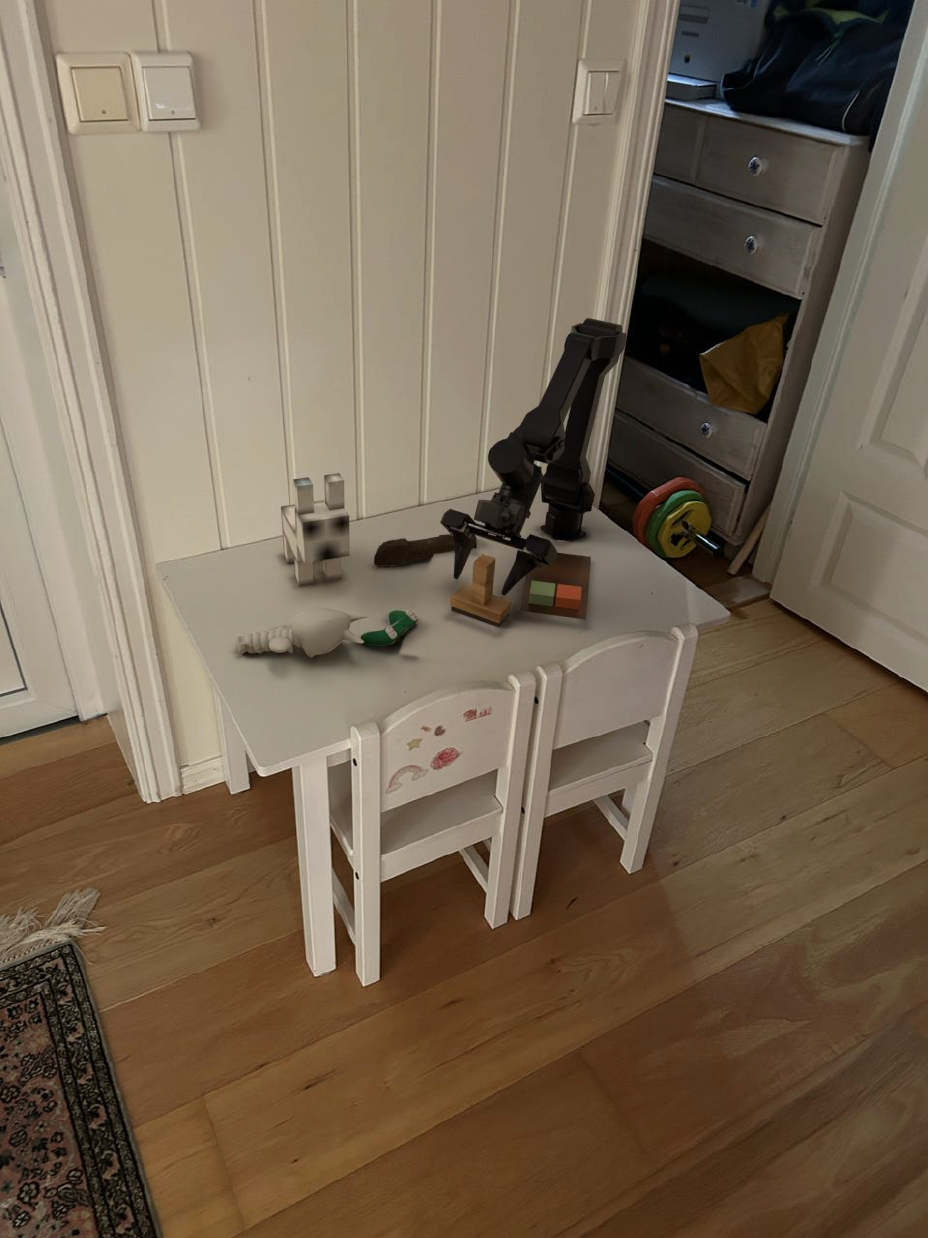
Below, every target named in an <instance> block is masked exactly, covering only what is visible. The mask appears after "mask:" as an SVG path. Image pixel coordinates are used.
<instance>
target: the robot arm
mask: <svg viewBox="0 0 928 1238" xmlns="http://www.w3.org/2000/svg"><path fill="white" fill-rule="evenodd" d="M570 327H571V328H570V332H569V333H567V336H566V338H565V340H564V345H563V346H564V347H563V352H562V354H561V357H560V359H559V361H558V363H557V365H556V367H555V370H554V372H553V374H552V376H551V378H550V381H549V382H548V385H547V386H546V389H545V391H544V393H543V395H542V397H541V400H540V402H539V403H538V405H537V406H535V407H534V408H533V409H531V410H529V411H528V412H527V413H525V415H524V417H523V419H522V421H521V422H520V424H519V426H517V427H516V428H515V429H514V430H513V431H510V432H509V434H508V437H506V438H503V439H500V440H498V441H496V442H495V443H494V444H493V445H492V446H491V447H490V448H489V450H488V454H487V461H488V465H489V467H490V468H491V470H492V471H493V472H494V474H495V475H496V477H497V478H498V480H499V481H500V482H501V484H500V486H499V489H498V492H494V494H493V495H492V497H491V499H478V501H477V504H476V508H475V512H474V516H473V518H472V516H470V514H468V513H465V512H462V511H460V510H455V509H452V508H449V509H448V510H446V511H445V512H444V513H443V515H442V516H441V519H440V521H439V523H440V525H442V526H443V527H444V528H445V529H446V530H447V532H448V534H451V535H452V536H453V538H454V543H455V551H454V561H453V562H454V563H453V579H454V580H458V579H459V578H460V576H461V575H462V573H463V571H464V569H465V566H466V563H467V561H468V559H469V557H470V554H471V552H472V550H473V549H474V548H473V545H474V543H473V542H472V541H471V540H470V538H471V537H473V536H474V535H475V536H476V537H480V538H482V539H486V540H489V541H492V542H495V543H498V544H501V545H504V546H507V547H511V548H513V549H517V551H516V555H515V560H514V563H513V564H512V567H511V569H510V570H509V573H508V575H507V577H506V579H505V580H504V583H503V586H502V589H501V591H500V595H501V596H502V597H505V596H506V595H507V594H508V593H510V591H511V590H512V589H513V588H514V587H515V586H516V585H518V583H519V582H520V581H521V580H522V579H523V578H525V576H526V575H527V574H528V573H529V572H531V571H532V570H533V569H535V568H536V567H538V568H542V564H545V565H548V566H554V563H555V561H556V558H557V553H558V551H557V548H556V547H555V545H554V543H553V542H552V541H551V539H548V538H545V537H541V536H538V535H535V534H532V533H530V534H529V535H528V536H527V537H526V538H525V537H522V535H521V533H522V530H523V527H524V526H525V522H526V520H527V519H530V516H531V514H532V512H531V511H530V510H531V508H532V505H533V503H534V500H535V498H536V495H537V493H538V490H539V489H540V495H541V503H543V504H548V507H547V508H548V509H547V511H546V512H545V520H544V524H543V525H540V527H539V529H540V530H541V531H542V532H544V533H545V534H546V535H547V536H549V537H550V538H552V539H553V540H555V541H562V542H570V541H575V540H578V539H580V538H584V537H586V536H587V532H586V531H584V530H583V529H582V526H583V520H584V514H585V513H589V512H592V510H593V504H594V502H595V496H596V494H595V492H594V489H593V487H592V485H591V484H590V482H591V475H592V473H591V472H592V471H591V469H590V465H589V463H588V458H587V454H588V450H589V446H590V441H591V438H592V437H591V436H592V433H593V429H594V424H595V420H596V416H597V412H598V408H599V404H600V400H601V396H602V395H601V394H602V390H603V387H604V383H605V378H606V375H608V374H609V373H610V371H612V369H613V368H614V367H615V366H616V365H617V364H618V362H619V359H620V356H621V355H622V353H623V352H624V350H625V347H626V343H627V340H628V339H627V338H628V336H627V335H628V334H627V332H623V331H624V329H623V325H621V324H618V323H614V322H610V321H604V320H600V319H596V318H591V317H586V318H585V319H584V320H583V322H579V323H576V324H573V325H571V326H570ZM567 415H568V417H567ZM566 418H567V420H566ZM565 421H566V426H565V424H564V423H565ZM535 462H539V463H543V464H546V467H545V468H546V470H545V472H544V473H543V471H542V470H543V469H542V466H540V465H538V464H537V463H535ZM477 522H480V523H481V524H480V523H477ZM541 563H542V564H541Z"/></svg>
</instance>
